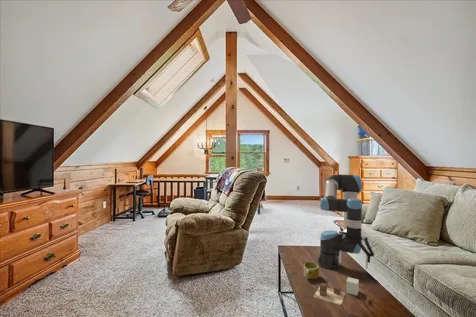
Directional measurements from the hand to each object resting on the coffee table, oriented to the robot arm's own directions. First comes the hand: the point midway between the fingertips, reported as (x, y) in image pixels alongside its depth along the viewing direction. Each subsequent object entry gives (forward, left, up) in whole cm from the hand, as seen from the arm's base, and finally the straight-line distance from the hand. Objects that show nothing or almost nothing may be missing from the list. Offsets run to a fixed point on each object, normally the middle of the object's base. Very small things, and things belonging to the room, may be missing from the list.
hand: (353, 265), depth 143 cm
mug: (-5, -25, -17) cm, 30 cm away
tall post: (+12, -13, -15) cm, 23 cm away
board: (+10, -10, -16) cm, 21 cm away
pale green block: (0, 0, -16) cm, 16 cm away
